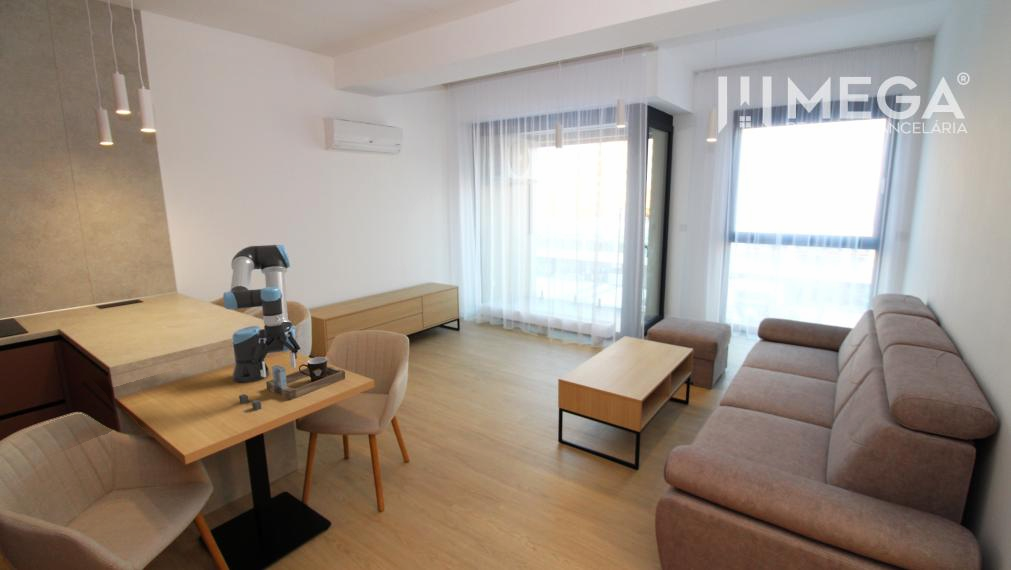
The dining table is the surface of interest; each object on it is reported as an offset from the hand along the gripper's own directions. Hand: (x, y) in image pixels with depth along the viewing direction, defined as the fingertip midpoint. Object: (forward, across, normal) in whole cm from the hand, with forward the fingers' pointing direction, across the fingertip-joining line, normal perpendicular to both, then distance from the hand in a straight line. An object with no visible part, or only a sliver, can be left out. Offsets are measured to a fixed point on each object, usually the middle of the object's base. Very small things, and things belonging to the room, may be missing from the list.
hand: (278, 371), depth 204 cm
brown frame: (+10, +13, +1) cm, 16 cm away
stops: (+10, -13, 0) cm, 17 cm away
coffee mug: (+10, +17, 0) cm, 20 cm away
